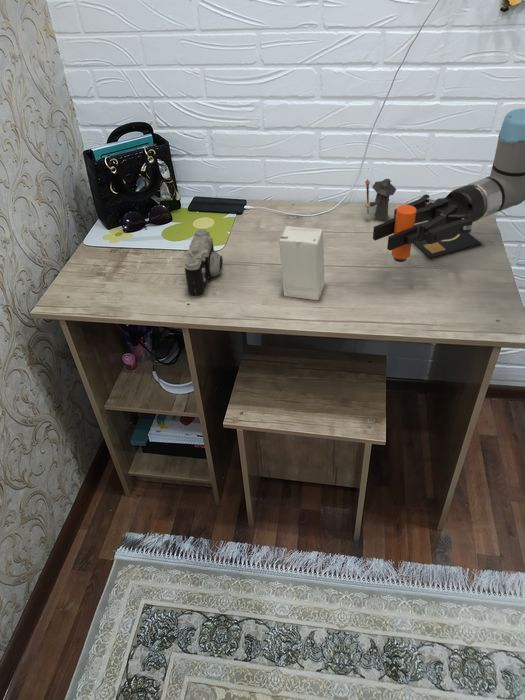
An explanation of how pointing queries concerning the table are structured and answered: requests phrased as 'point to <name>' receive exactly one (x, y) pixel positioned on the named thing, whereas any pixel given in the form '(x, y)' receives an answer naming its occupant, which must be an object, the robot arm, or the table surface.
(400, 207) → the cylinder
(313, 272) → the cosmetic box
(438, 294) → the table surface
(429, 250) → the black square board
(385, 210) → the wizard figurine
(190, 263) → the camera
